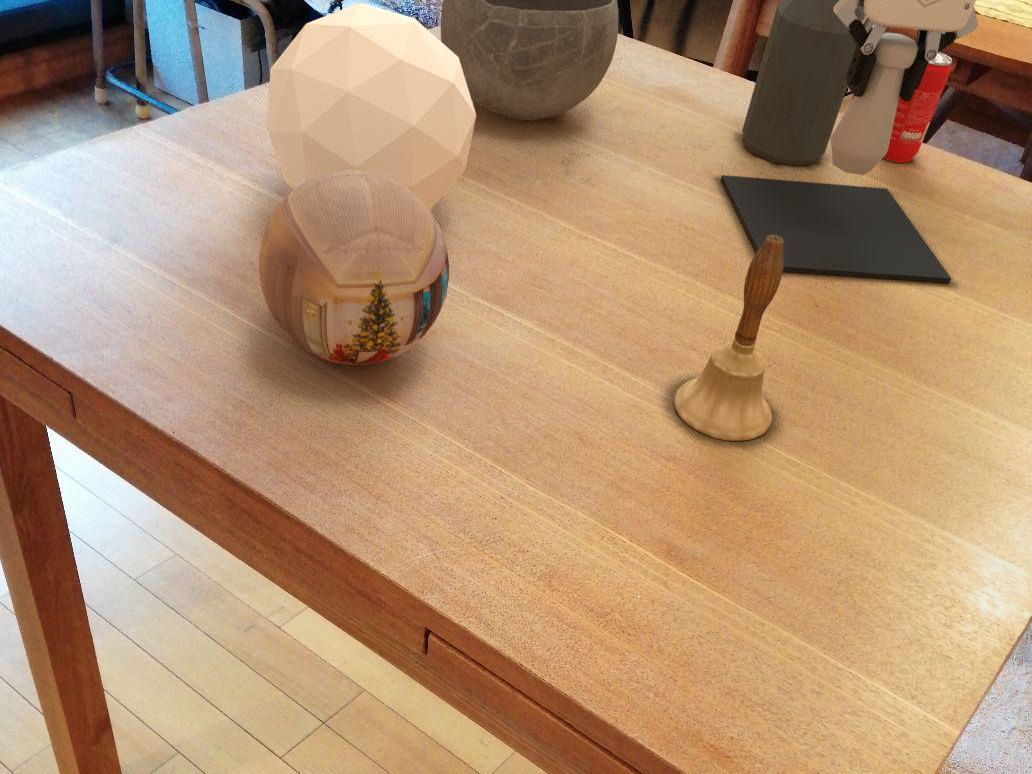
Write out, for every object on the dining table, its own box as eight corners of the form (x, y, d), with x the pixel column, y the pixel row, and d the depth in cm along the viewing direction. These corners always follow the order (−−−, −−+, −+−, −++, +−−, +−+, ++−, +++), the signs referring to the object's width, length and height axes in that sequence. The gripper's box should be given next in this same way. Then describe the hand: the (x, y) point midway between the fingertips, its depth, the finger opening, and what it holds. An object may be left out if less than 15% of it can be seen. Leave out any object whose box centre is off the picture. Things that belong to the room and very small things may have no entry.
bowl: (440, 66, 139) (451, -64, 129) (598, 87, 140) (622, -39, 130) (427, 132, 124) (438, -8, 114) (604, 156, 125) (631, 19, 115)
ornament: (395, 423, 85) (407, 250, 75) (226, 366, 88) (216, 191, 78) (467, 332, 96) (487, 169, 85) (315, 283, 98) (316, 120, 88)
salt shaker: (813, 154, 115) (857, 25, 106) (857, 152, 116) (904, 25, 108) (844, 180, 111) (892, 49, 102) (889, 177, 113) (940, 48, 104)
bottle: (784, 126, 138) (868, -146, 117) (839, 160, 132) (937, -120, 112) (723, 136, 133) (799, -145, 113) (777, 172, 128) (867, -118, 107)
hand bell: (726, 453, 87) (786, 278, 76) (653, 399, 92) (700, 225, 81) (791, 421, 92) (856, 250, 81) (718, 371, 96) (771, 202, 85)
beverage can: (873, 158, 134) (910, 59, 126) (872, 142, 138) (908, 44, 129) (915, 167, 134) (955, 68, 125) (913, 151, 137) (952, 53, 129)
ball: (404, 292, 112) (473, 204, 94) (218, 204, 106) (252, 91, 88) (459, 142, 117) (533, 31, 99) (284, 50, 112) (329, -86, 93)
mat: (885, 193, 127) (887, 188, 127) (949, 283, 113) (951, 278, 112) (720, 179, 124) (721, 174, 124) (764, 270, 110) (766, 265, 110)
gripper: (876, -114, 92) (808, 101, 105) (1060, -91, 94) (971, 117, 107) (849, -136, 98) (787, 71, 110) (1023, -114, 100) (943, 86, 112)
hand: (878, 91), depth 108 cm, fingers closed on salt shaker, 4 cm apart
